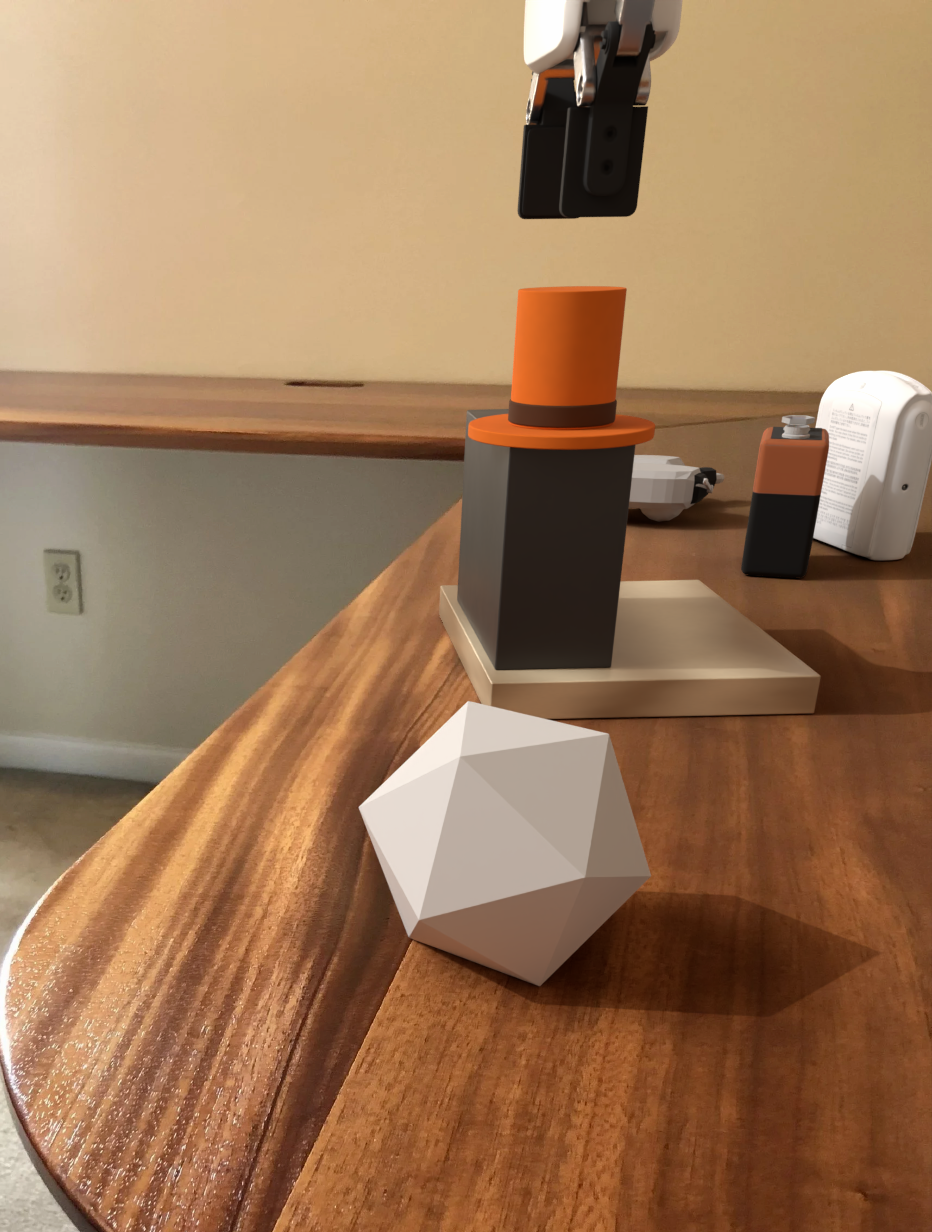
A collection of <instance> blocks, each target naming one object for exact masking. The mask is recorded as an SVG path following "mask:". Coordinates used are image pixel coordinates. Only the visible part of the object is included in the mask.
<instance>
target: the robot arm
mask: <svg viewBox="0 0 932 1232" xmlns="http://www.w3.org/2000/svg"><path fill="white" fill-rule="evenodd" d="M524 2H525V3H524V18H523V19H524V20H523V60H524V64H525V65H526V66H527V67H528V68H529V70H531V71H532V72H531V76H532V78H530V88H529V93H528V98H527V103H526V110H525V124H524V125H523V131H522V142H521V143H522V144H521V160H520V171H519V182H518V183H519V184H518V199H517V215H518V217H519V218H520V219H522V220H576V219H579V218H628V217H631V216H632V215H633V214H635V212H636V211H637V208H638V200H639V192H640V184H641V175H642V166H643V156H644V148H645V139H646V131H647V130H646V129H647V121H648V112H649V106H647V103H648V102H649V99H650V94H651V89H652V88H651V87H652V71H651V62H652V61H654V60H656V59H658V58H661V56H663V55H664V54H665V53H666V52H668V51H669V49H671V47H672V46H673V45H674V44H675V42H676V40H677V38H678V35H679V32H680V27H681V20H682V9H683V0H524Z"/></svg>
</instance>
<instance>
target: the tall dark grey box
mask: <svg viewBox="0 0 932 1232" xmlns="http://www.w3.org/2000/svg"><path fill="white" fill-rule="evenodd" d="M508 412H509V408H494V409H493V408H492V409H490V408H489V409H487V408H486V409H467V410H466V419H465V435H464V436H465V439H464V456H463V478H462V497H461V515H460V517H461V518H460V533H459V534H460V535H459V551H458V552H459V555H458V574H457V585H458V591H457V601H458V603H459V605H460V607H461V608H462V610H463V612H464V614H465V616H466V617H467V619H468V621H469V623H470V625H471V627H472V628H473V630H474V632H475V634H476V636H477V637H478V639H479V641H480V643H481V645H482V647H483V648H484V650H485V652H486V654H487V656H488V658H489V659H490V661H491V663H492V665H493V667H494V668H495V670H521V669H567V668H610V667H611V664H612V655H613V646H614V637H615V627H616V618H617V609H618V600H619V591H620V582H621V581H622V574H623V573H622V571H623V565H624V564H623V563H624V554H625V544H626V535H627V528H628V527H627V526H628V518H629V517H628V516H629V509H630V508H629V500H630V491H631V482H632V473H633V464H634V455H636V454H635V453H636V445H637V444H636V445H631V446H624V447H615V448H603V449H580V450H550V449H527V448H514V447H504V446H497V445H490V444H485V443H481V442H478V441H475V440H472V439H471V438H469V436H468V426H469V423H470V422H471V421H473V420H475V419H478V418H482V417H487V416H493V415H501V414H508Z"/></svg>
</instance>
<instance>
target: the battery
mask: <svg viewBox="0 0 932 1232" xmlns="http://www.w3.org/2000/svg"><path fill="white" fill-rule="evenodd" d="M815 420H816V417H815V416H812V415H811V416H809V415H805V414H803V415H802V414H801V415H797V414H790V415H784V416H782V417H781V423H784V424H785V426H770V427H767V428H766V429H764V431H763V433H762V436H761V439H760V443H759V449H758V453H757V454H758V455H757V461H756V467H755V473H754V481H753V487H752V493H751V500H750V505H749V511H748V520H747V527H746V532H745V540H744V544H743V545H744V546H743V552H742V558H741V566H740V570H741V572H742V574H744V575H745V576H750V577H764V578H766V577H767V578H782V579H802V578H804V577H805V576H806V575H807V573H808V569H809V563H810V557H811V552H812V546H813V542H814V541H813V540H814V538H813V536H814V530H815V524H816V519H817V513H818V507H819V502H820V496H821V491H822V485H823V479H824V474H825V468H826V462H827V457H828V451H829V433H828V431H827V430H826V429H822V428H815V427H810V425H811V424H815V422H816V421H815Z"/></svg>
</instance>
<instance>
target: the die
mask: <svg viewBox="0 0 932 1232" xmlns="http://www.w3.org/2000/svg"><path fill="white" fill-rule="evenodd" d="M358 810H359V813H360V815H361V817H362V820H363V823H364V825H365V828H366V830H367V834H368V836H369V838H370V841H371V843H372V847H373V848H374V851H375V855H376V857H377V859H378V862H379V864H380V867H381V870H382V872H383V875H384V878H385V880H386V882H387V886H388V889H389V890H390V893H391V896H392V899H393V901H394V903H395V906H396V909H397V911H398V914H399V916H400V918H401V921H402V924H403V926H404V929H405V932H406V934H407V937H408V938H409V939H411V940H414V941H416V942H420V943H422V944H424V945H427V946H430V947H432V948H436V949H438V950H441V951H444V952H446V953H449V954H452V955H454V956H457V957H460V958H463V959H464V960H468V961H469V962H472V963H476V964H478V965H481V966H484V967H487V968H488V969H491V970H495V971H497V972H500V973H502V974H505V975H508V976H511V977H513V978H516V979H519V980H522V981H524V982H527V983H529V984H531V985H535V986H537V987H541V986H542V985H543V984H544V983H545V982H546V981H547V980H548V979H549V978H550V977H551V976H552V975H553V974H554V973H555V972H556V971H557V970H558V969H560V967H561V966H562V965H563V964H564V963H565V962H566V961H567V960H568V959H570V957H571V956H572V955H573V954H574V953H575V952H576V951H577V950H579V949H580V947H581V946H582V945H583V944H584V943H585V942H587V941H588V939H589V938H591V936H592V935H593V934H594V933H596V932H597V930H599V928H600V927H601V926H603V924H605V923H606V922H607V921H608V919H610V918H611V916H612V915H614V914H615V913H616V912H617V911H618V910H619V909H620V908H621V907H622V906H623V905H624V904H625V903H626V902H627V901H628V900H629V899H630V898H631V897H632V896H633V895H634V894H635V893H636V892H637V891H638V890H639V889H640V888H641V887H642V886H643V885H644V884H645V883H646V882H647V881H648V880H649V879H650V878H651V877H652V874H651V870H650V868H649V867H650V866H649V864H648V861H647V858H646V854H645V851H644V847H643V844H642V841H641V836H640V834H639V830H638V826H637V823H636V819H635V816H634V813H633V809H632V807H631V803H630V800H629V797H628V793H627V790H626V786H625V782H624V780H623V776H622V773H621V769H620V765H619V763H618V759H617V756H616V752H615V748H614V746H613V742H612V739H611V735H610V733H607V732H603V731H598V730H595V729H590V728H585V727H581V726H577V725H573V724H569V723H565V722H559V721H557V720H553V719H543V718H539V717H535V716H530V715H526V714H522V713H518V712H513V711H509V710H505V709H501V708H496V707H492V706H488V705H483V704H481V703H479V702H475V701H471V700H467V701H466V703H464V704H463V705H462V706H461V708H459V709H458V710H457V711H456V712H455V713H454V714H453V715H452V716H451V717H450V718H449V719H448V720H447V721H445V723H444V724H443V725H442V726H441V727H439V728H438V730H437V731H436V732H435V733H433V735H431V736H430V737H429V738H428V739H427V740H426V741H425V742H424V743H423V744H422V745H421V746H420V747H419V748H418V749H417V750H416V751H415V752H413V754H411V755H410V757H408V759H406V760H405V762H403V763H402V764H401V766H399V767H398V768H397V769H396V770H395V771H394V772H393V773H392V774H391V775H390V776H389V777H388V778H386V780H385V781H384V782H383V783H382V784H381V785H379V787H378V788H377V789H376V790H374V791H373V792H372V793H371V794H370V796H368V797H367V799H365V800H364V801H363V802H362V803H361V804H360V805H359V806H358Z"/></svg>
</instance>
